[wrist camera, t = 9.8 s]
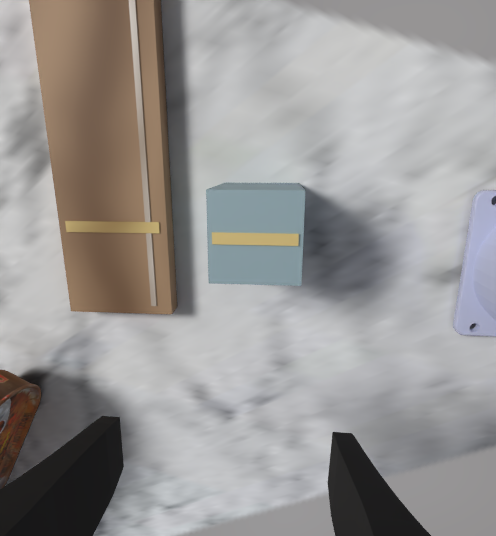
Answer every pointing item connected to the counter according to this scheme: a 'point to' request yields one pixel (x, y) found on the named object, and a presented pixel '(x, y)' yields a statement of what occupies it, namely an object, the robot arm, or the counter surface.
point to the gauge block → (255, 233)
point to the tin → (14, 418)
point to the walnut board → (109, 150)
